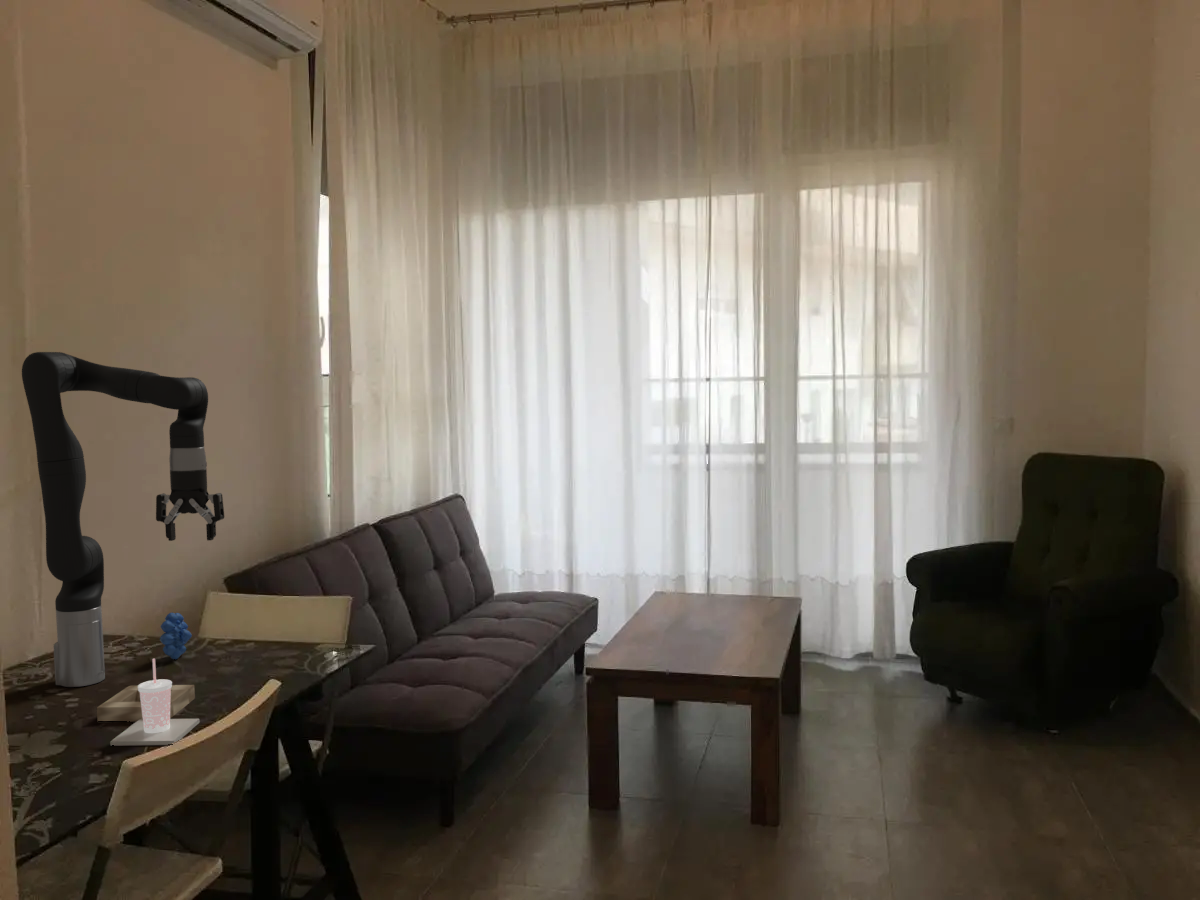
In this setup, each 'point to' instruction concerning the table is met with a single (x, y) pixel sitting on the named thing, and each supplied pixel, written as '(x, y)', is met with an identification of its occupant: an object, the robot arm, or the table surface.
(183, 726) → the coaster
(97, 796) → the table surface
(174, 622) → the grapes
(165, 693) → the beverage cup
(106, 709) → the cup holder
